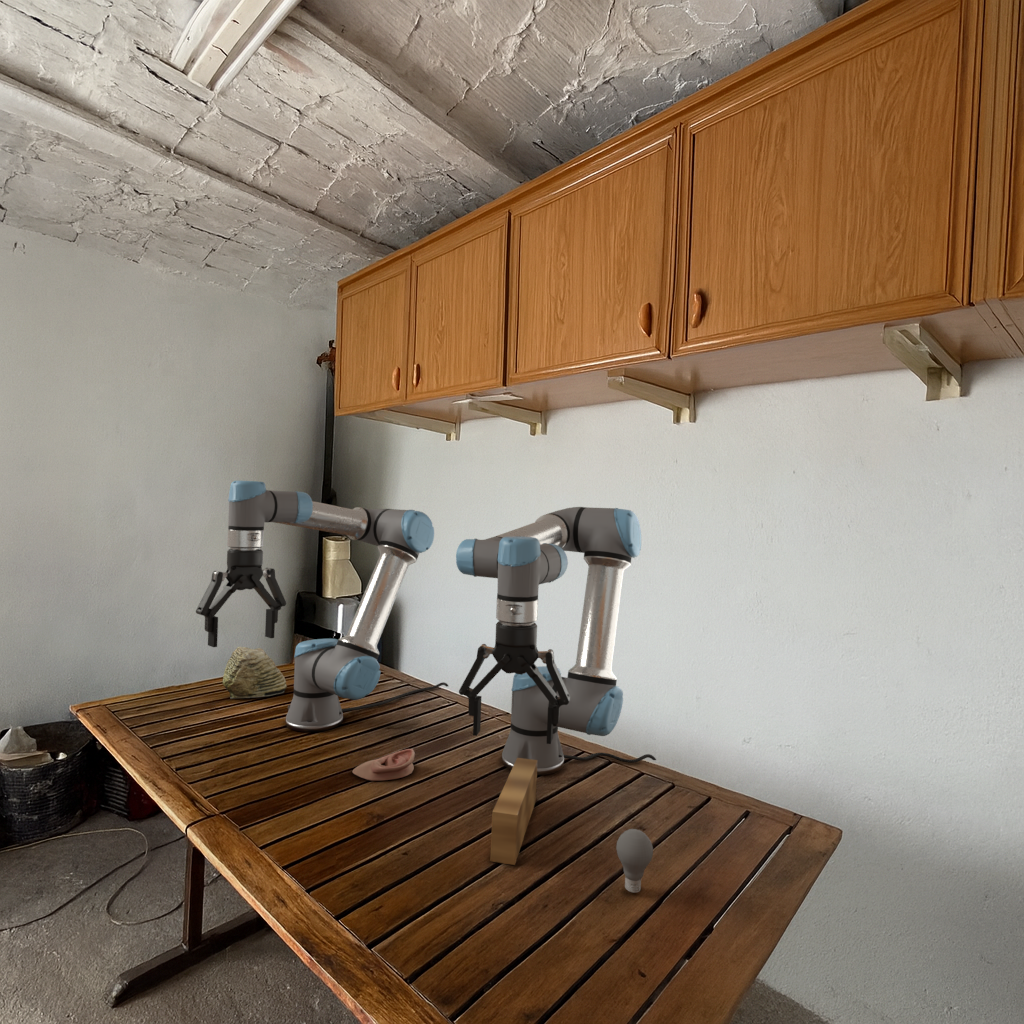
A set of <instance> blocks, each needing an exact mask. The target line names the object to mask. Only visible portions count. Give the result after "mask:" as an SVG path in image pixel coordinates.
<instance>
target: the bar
mask: <svg viewBox="0 0 1024 1024" xmlns="http://www.w3.org/2000/svg"><path fill="white" fill-rule="evenodd" d="M537 761H538V760H532V759H524V758H517V759H516V761H515V763H514V766H513V768H512V770H510V773H509V774H508V777H507V778H506V782H505V783H504V786H503V788H502V790H501V791H500V794H499V797H498V799H497V801H496V803H495V805H494V807H493V809H492V813H491V814H492V816H491V835H490V861H489V862H493V863H499V864H505V865H512V866H516V863H517V860H518V857H519V854H520V850H521V848H522V844H523V842H524V839H525V836H526V833H527V830H528V827H529V824H530V820H531V817H532V814H533V811H534V807H535V805H536V801H537V783H538V782H537V781H538V775H537Z"/></svg>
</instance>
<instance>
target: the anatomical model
mask: <svg viewBox="0 0 1024 1024" xmlns="http://www.w3.org/2000/svg"><path fill="white" fill-rule="evenodd" d="M415 755H416V753H415V750H414V749H413V748H405V749H401V750H398V751H396V752H392V753H390V754H387V755H384V756H381V757H378V758H376V759H371V760H368V761H365V762H362V763H361V764H359V765H358V766H356V767H355V768H353V770H352V774H353V775H354V776H357V777H359V778H361V779H364V780H367V781H372V782H373V781H388V780H390V781H391V780H397V779H400V778H404V777H407V776H409V775H410V774H412V773H413V771H414V763H413V762H414V760H415Z"/></svg>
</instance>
